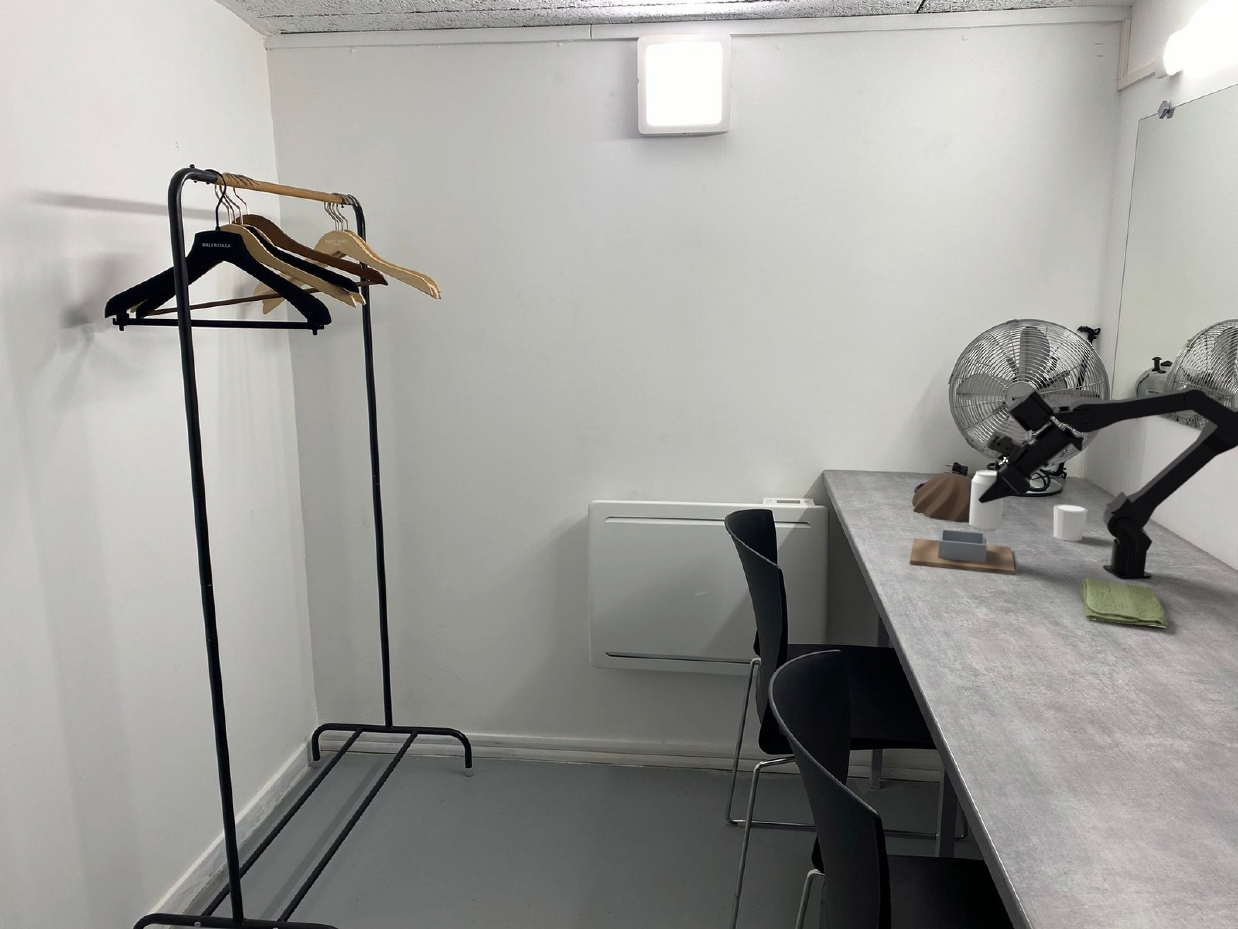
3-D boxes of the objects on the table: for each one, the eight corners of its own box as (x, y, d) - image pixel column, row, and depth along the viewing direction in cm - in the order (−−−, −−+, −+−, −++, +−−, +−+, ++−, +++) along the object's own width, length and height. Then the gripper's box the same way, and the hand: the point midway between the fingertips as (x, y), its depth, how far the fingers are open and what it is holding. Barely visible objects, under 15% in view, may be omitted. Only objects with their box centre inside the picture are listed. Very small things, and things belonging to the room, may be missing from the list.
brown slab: (1010, 550, 193) (1011, 547, 192) (1014, 574, 178) (1014, 570, 178) (913, 541, 200) (914, 538, 199) (909, 563, 185) (909, 560, 185)
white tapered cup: (1077, 533, 204) (1080, 504, 203) (1089, 542, 198) (1093, 512, 196) (1046, 532, 205) (1049, 503, 204) (1057, 541, 198) (1060, 511, 197)
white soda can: (992, 524, 189) (996, 469, 186) (1006, 532, 183) (1010, 475, 180) (963, 524, 189) (967, 469, 186) (976, 533, 183) (980, 476, 180)
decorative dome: (909, 518, 218) (912, 479, 216) (913, 499, 236) (915, 462, 234) (994, 526, 212) (998, 485, 209) (992, 505, 230) (995, 467, 228)
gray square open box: (984, 553, 191) (985, 532, 190) (985, 566, 183) (986, 545, 182) (938, 548, 195) (940, 528, 194) (937, 561, 186) (939, 540, 185)
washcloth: (1083, 623, 155) (1085, 605, 154) (1077, 590, 170) (1079, 574, 170) (1170, 635, 150) (1172, 617, 149) (1156, 599, 165) (1158, 583, 165)
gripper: (1011, 412, 188) (952, 460, 194) (1015, 427, 171) (951, 479, 177) (1049, 450, 187) (989, 497, 193) (1057, 469, 170) (991, 520, 176)
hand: (979, 497), depth 185 cm, fingers closed on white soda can, 6 cm apart
